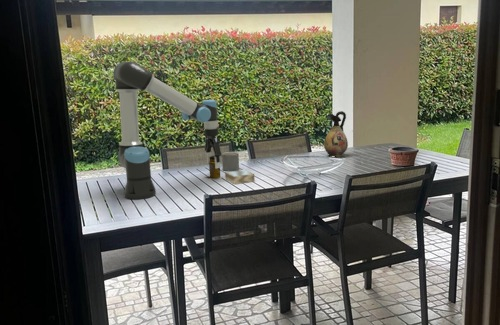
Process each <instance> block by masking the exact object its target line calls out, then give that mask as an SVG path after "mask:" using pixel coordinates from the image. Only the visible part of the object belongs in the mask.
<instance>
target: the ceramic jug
mask: <svg viewBox="0 0 500 325" xmlns="http://www.w3.org/2000/svg"><path fill="white" fill-rule="evenodd" d="M340 115H341V116H342V119H341V118H340ZM346 119H347V114H346V112H345V111H342V110H340V111H338V112H336V113H335V114H333V113H330V114H329V116H328V117H327V120H329V121H331V122H333V124H332V127H331V128H330V129H329V131H328V133H327V135H326V136H325V139H324V143H323V147H324V150H325V152H326V153H327V155H328V154H329V155H330V156H336V157H335V158H341V157H343V155H344V154H345V153H346V151H347V150H348V146H349V142H348V139H347V136H346V134H345V132H344V125H345V122H346ZM339 122H341V123H339ZM329 155H328V156H329ZM330 156H329V157H330Z"/></svg>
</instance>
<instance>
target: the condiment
mask: <svg viewBox="0 0 500 325" xmlns="http://www.w3.org/2000/svg"><path fill="white" fill-rule="evenodd" d="M214 156H215V155H211V157H210V162H209V164H208V166H209V176H204V178H205V179H207V180H209V181H210V180H211V181H212V180H216V179H223V178H224V177H223V176H221V167H220V168H215V157H214Z"/></svg>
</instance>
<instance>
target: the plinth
mask: <svg viewBox="0 0 500 325" xmlns="http://www.w3.org/2000/svg"><path fill="white" fill-rule="evenodd" d="M224 172H225V174H224V175H225V177H224V179H225V181H227V182H229V183H231V184H232V185H238V184H245V183H252V182H253V183H254V182H255V173H253V172H250V171H249V170H246V169H242V170H240V169H239V170H237V171H230V172H228V171H224Z"/></svg>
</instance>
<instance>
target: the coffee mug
mask: <svg viewBox="0 0 500 325" xmlns="http://www.w3.org/2000/svg"><path fill="white" fill-rule="evenodd" d="M239 158H240V156H239V152H237V151H225V152H221V160H222V161H221V165H222V171H223V172H233V171H240V159H239Z"/></svg>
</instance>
